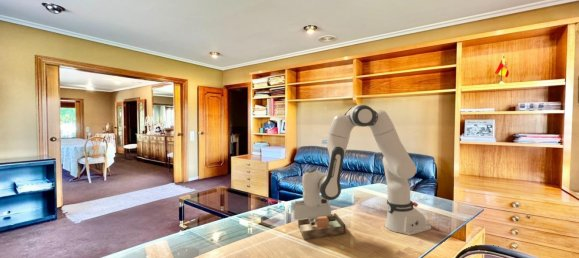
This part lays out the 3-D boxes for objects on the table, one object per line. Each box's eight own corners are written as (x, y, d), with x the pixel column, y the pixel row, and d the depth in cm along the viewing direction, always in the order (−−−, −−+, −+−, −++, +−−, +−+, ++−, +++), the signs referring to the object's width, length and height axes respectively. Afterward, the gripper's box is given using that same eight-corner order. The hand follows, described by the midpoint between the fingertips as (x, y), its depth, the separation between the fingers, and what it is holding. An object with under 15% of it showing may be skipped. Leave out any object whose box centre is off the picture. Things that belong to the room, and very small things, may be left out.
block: (326, 222, 141) (325, 215, 141) (328, 226, 136) (328, 219, 136) (315, 224, 140) (315, 217, 140) (317, 228, 135) (317, 220, 135)
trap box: (336, 221, 147) (335, 213, 147) (345, 234, 132) (345, 224, 132) (298, 226, 144) (297, 217, 144) (303, 239, 129) (303, 230, 129)
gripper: (293, 203, 131) (294, 229, 133) (331, 199, 135) (332, 225, 136) (291, 199, 138) (292, 224, 139) (328, 195, 141) (329, 220, 142)
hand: (312, 224), depth 137 cm, fingers closed
